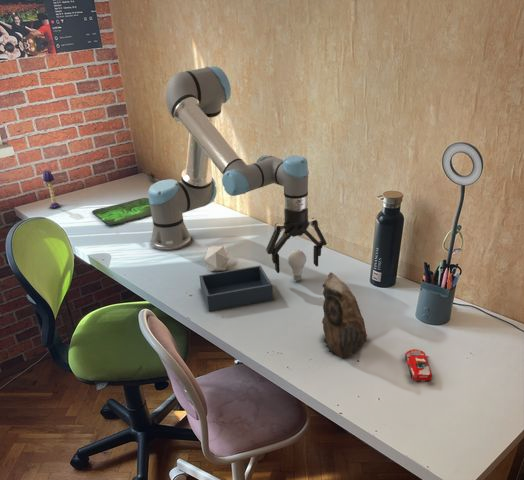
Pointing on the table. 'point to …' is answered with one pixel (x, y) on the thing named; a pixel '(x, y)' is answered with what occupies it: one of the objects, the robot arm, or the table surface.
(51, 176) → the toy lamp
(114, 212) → the mouse mat
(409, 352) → the race car
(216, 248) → the die
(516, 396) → the table surface
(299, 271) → the lightbulb
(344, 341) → the owl
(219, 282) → the tote
